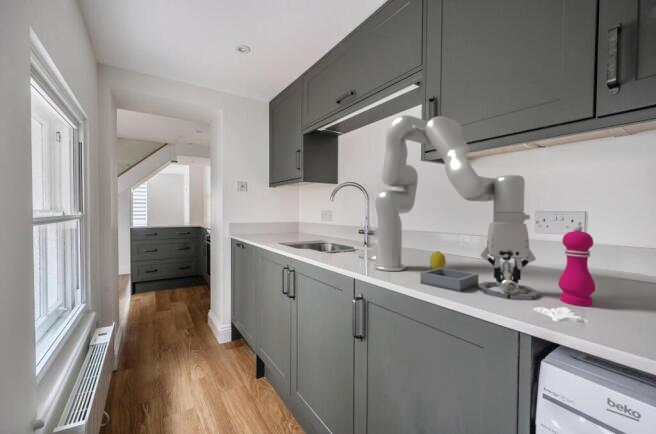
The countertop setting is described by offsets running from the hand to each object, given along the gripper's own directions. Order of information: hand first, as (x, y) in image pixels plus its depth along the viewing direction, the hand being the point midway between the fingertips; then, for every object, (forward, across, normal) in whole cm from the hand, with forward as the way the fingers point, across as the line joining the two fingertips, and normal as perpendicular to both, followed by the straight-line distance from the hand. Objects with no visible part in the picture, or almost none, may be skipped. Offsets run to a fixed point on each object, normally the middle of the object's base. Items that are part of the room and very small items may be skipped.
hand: (506, 280), depth 85 cm
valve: (+3, 0, 0) cm, 3 cm away
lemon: (+3, +19, -21) cm, 29 cm away
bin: (+3, +15, -3) cm, 16 cm away
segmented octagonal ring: (+3, 0, 0) cm, 3 cm away
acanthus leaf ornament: (+4, -7, +18) cm, 20 cm away
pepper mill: (+3, -15, +5) cm, 16 cm away
